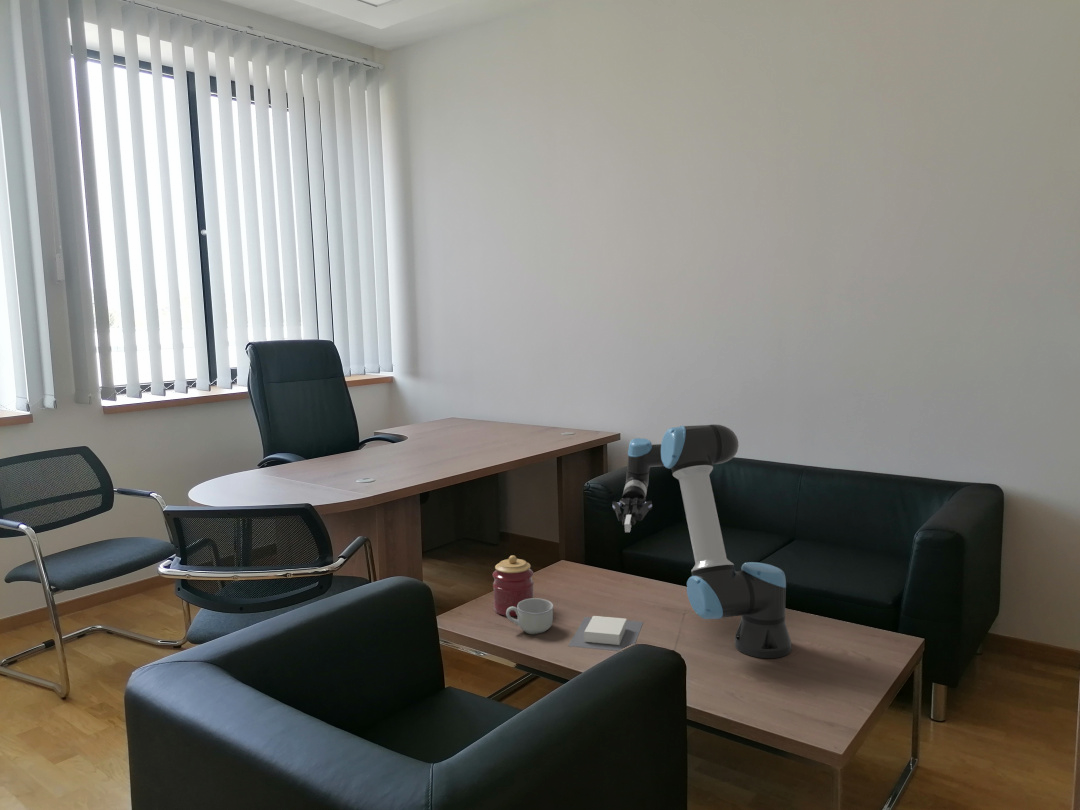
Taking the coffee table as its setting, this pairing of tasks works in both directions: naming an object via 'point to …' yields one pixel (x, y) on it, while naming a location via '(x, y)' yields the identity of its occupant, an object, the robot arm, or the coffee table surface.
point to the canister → (511, 584)
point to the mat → (627, 640)
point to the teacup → (533, 615)
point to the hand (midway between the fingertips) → (627, 528)
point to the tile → (605, 630)
